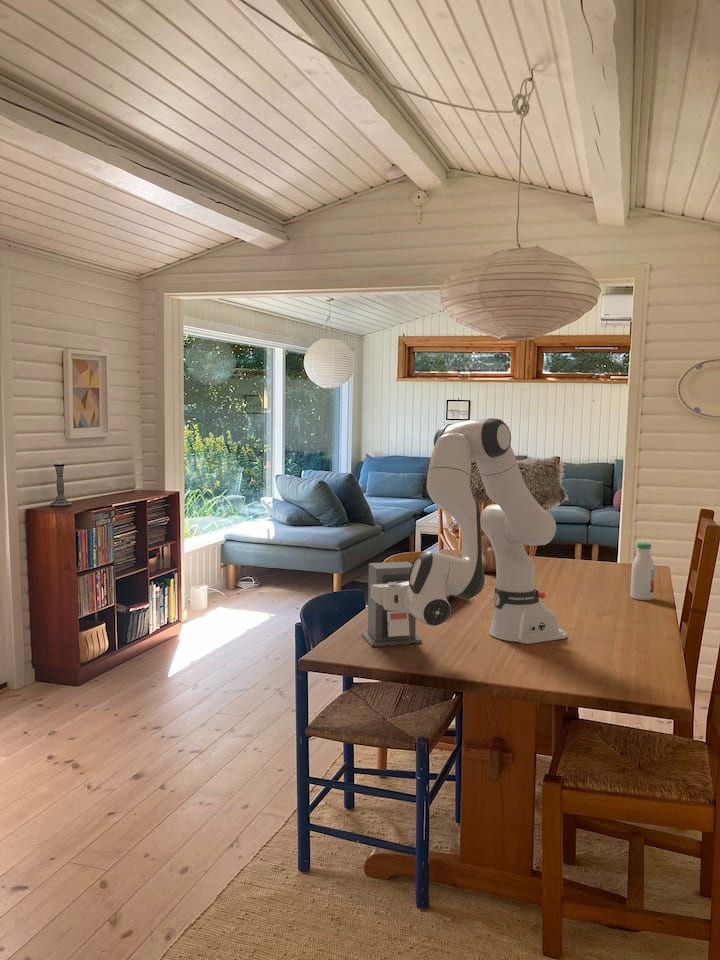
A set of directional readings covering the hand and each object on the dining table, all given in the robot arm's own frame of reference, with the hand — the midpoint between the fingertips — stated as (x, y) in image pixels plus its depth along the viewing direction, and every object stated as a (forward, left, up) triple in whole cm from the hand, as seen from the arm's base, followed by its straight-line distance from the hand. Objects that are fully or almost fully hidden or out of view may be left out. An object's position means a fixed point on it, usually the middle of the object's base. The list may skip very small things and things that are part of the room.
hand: (399, 584), depth 218 cm
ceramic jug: (-69, -89, -18) cm, 114 cm away
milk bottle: (-103, -35, -18) cm, 110 cm away
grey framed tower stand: (0, -7, -18) cm, 19 cm away
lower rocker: (0, 0, -15) cm, 15 cm away
